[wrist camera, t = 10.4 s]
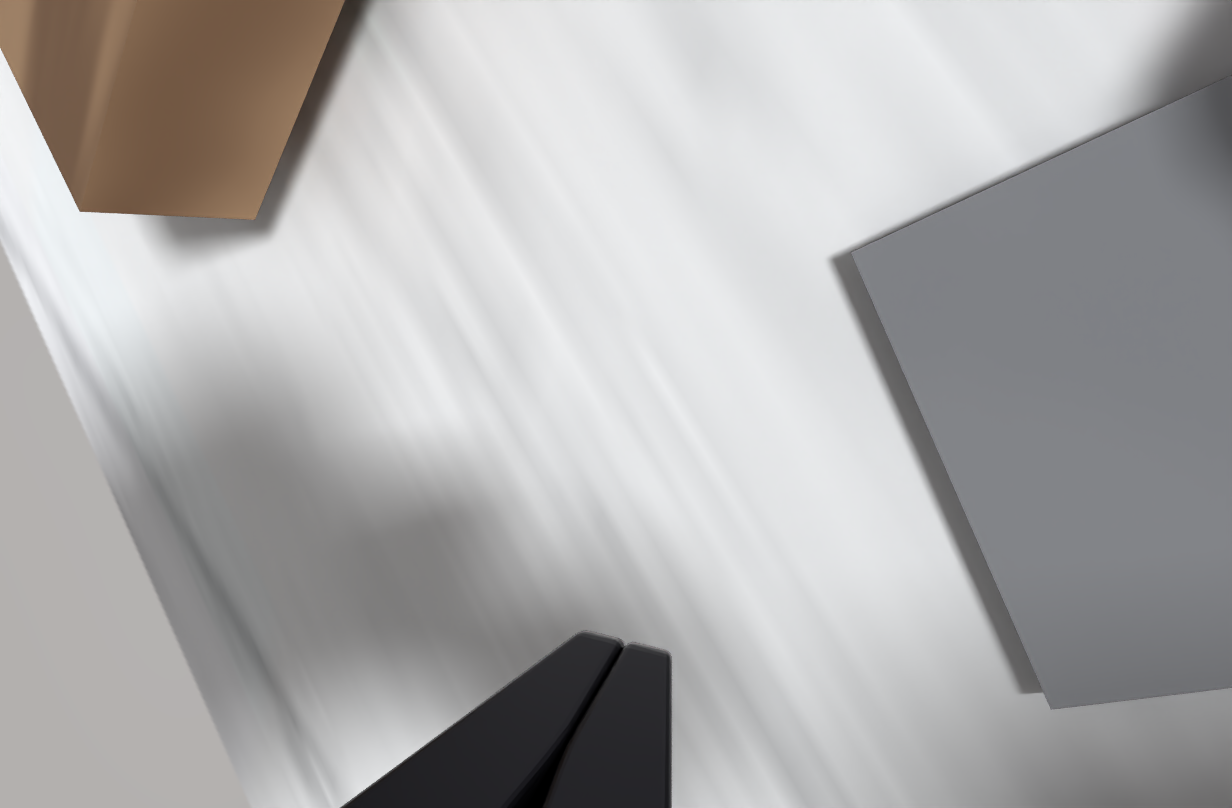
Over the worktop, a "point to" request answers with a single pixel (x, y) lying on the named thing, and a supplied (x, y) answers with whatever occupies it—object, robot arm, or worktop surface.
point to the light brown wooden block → (166, 95)
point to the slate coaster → (1088, 395)
